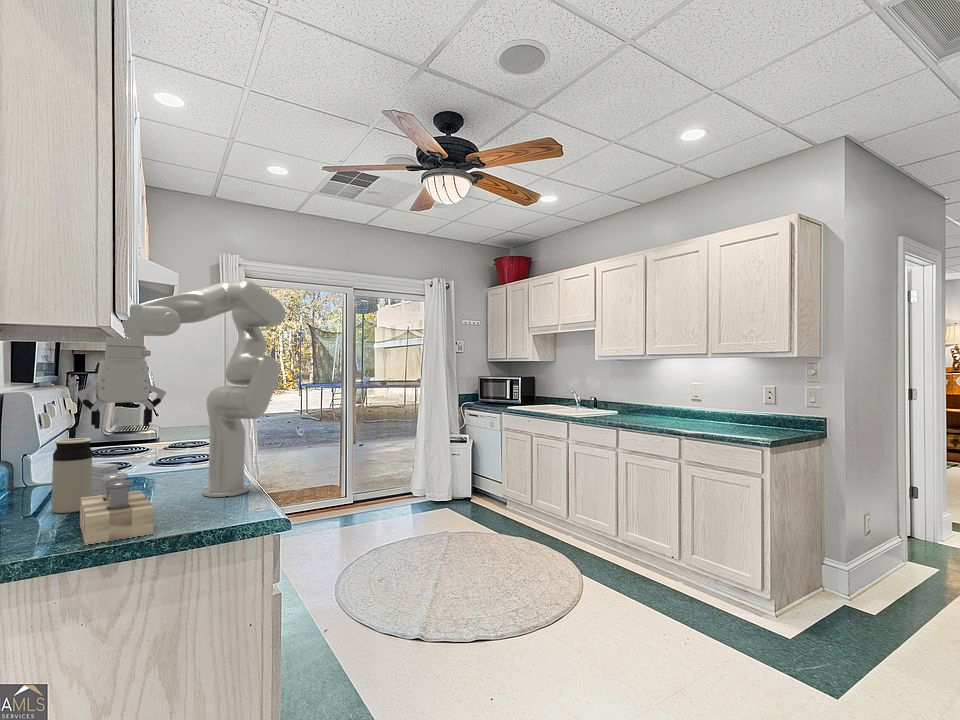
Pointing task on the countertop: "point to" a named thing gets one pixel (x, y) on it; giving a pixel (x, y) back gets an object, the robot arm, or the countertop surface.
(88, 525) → the oak block
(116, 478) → the steel peg
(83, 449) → the travel mug
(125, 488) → the grey piece
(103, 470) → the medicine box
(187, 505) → the countertop surface
